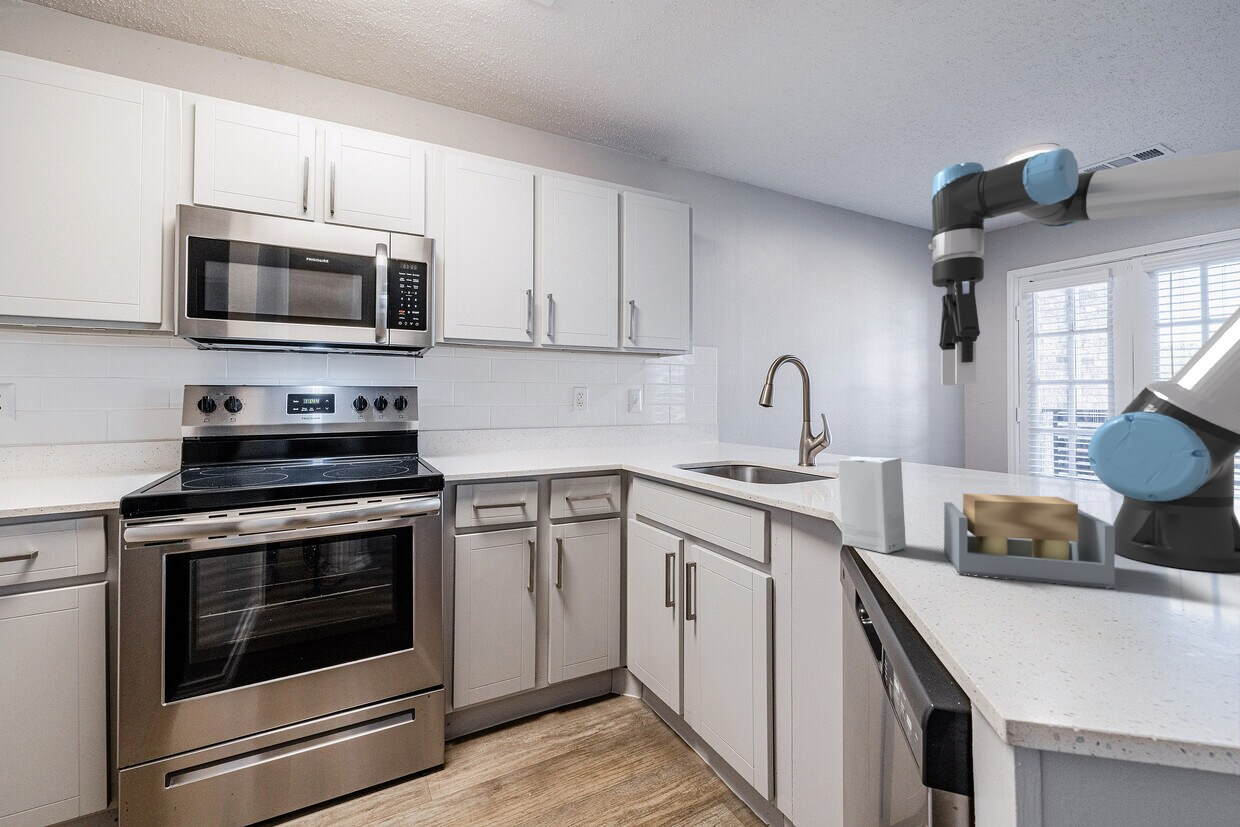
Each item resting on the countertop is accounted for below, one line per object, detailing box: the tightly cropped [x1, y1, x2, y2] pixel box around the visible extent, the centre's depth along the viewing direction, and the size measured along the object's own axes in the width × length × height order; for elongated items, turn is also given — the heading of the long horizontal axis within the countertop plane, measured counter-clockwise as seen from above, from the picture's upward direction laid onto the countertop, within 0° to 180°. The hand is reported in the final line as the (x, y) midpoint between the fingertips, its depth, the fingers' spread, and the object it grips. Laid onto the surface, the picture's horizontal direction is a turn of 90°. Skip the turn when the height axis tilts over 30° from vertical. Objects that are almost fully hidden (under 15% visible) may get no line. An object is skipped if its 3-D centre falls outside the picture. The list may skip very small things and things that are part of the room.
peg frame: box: [943, 501, 1116, 589], centre depth 78 cm, size 17×12×8 cm
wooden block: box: [962, 493, 1079, 542], centre depth 78 cm, size 12×6×5 cm, turn 71°
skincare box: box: [838, 455, 907, 554], centre depth 91 cm, size 8×6×15 cm
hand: (957, 384), depth 94 cm, fingers open, 13 cm apart
